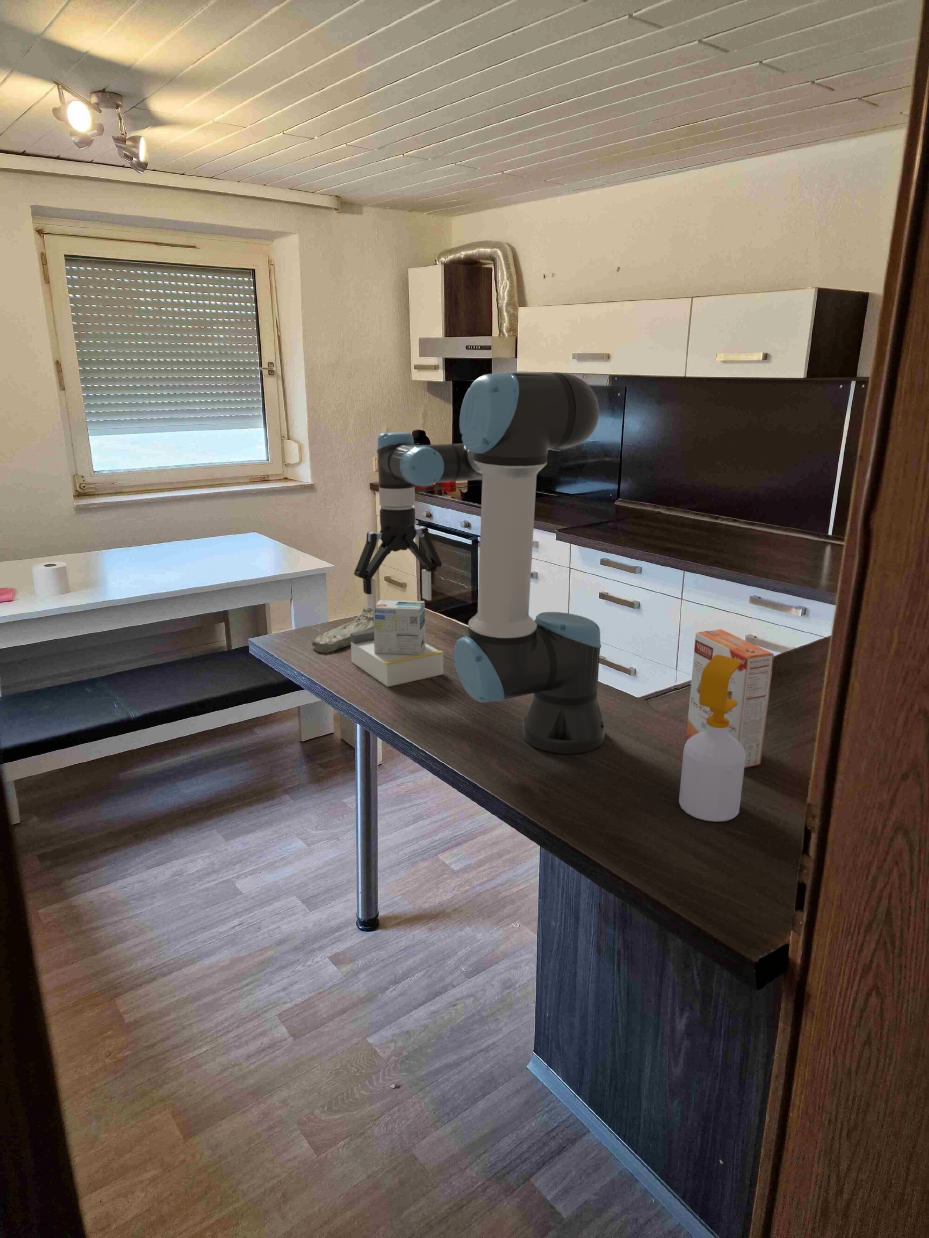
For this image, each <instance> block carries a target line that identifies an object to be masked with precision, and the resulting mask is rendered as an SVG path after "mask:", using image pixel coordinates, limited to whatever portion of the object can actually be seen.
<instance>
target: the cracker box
mask: <svg viewBox="0 0 929 1238" xmlns="http://www.w3.org/2000/svg"><path fill="white" fill-rule="evenodd" d="M693 649H694V650H693V661H692V671H691V682H690V693H689V705H688V714H687V727H686V738H688V739H689V738H691V737H692V736H694V735H696V734H697V733H700V732H704V731H705V729H706V720H707V718H708V717H710V716H713V712H711V711H710V707H706V706H703V705H700V704H699V695H700V685H701V676H702V672H703V669H704V668H705V666H706V665H707V664H708V663H709V662H710V660H711V659H712V658H713V657H714V656H716V655H722V656H726V657H730V658H734V659H738V660H740V663H741V664H740V666H739V667H738V668H737V669H736V671H735V672H734V673H733V674H732V676H731V677H730V680H729V684H728V693H727V698H728V699H731V700H735V701H737V706H735V707H734V708H733V709H731V710H730V711H729V712H728V713H726V714H724V718H726V719H728V720H729V730H728V734H729V735H730V736H732V737H733V738H735V739H736V740H737V741H738V742H739V743H741V745H742V746H743V748H744V750H745V753H746V757H745V766H744V769H748V768H752V767H756V766H757V767H758V766H760V765H761V762H762V755H763V749H764V748H763V746H764V739H765V731H766V723H767V714H768V705H769V701H770V689H771V681H772V674H773V665H774V656H775V654H774V653H773V652H771V651H769V650H766V649H764V648H762V647H760V646H758V645H755V644H753V643H751V642H749V641H748V640H745V639H742V638H741V637H739V636H736V635H734V634H733V633H731V632H728V631H726V630H723V629H721V628H720V629H713V630H704V631H699V632H695V638H694V648H693Z"/></svg>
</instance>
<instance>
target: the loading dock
mask: <svg viewBox="0 0 929 1238" xmlns="http://www.w3.org/2000/svg"><path fill="white" fill-rule="evenodd" d="M350 650H351V651H350V653H351V663H353V665H355V666H357V667H358V668H360V669H361V670H362V671H364V672H365V673H366V674H369V675H370V676H371V677H372V678H374V679H376V681H379V682H380V683H381V684H383V685H385V686H386V687H387V688H388V687H389V688H390V687H392V686H393V687H394V686H397V685H402V684H407V683H410V682H414V681H420V680H423V679H427V678H428V679H429V678H433V677H437V676H441V675H442V676H443V675H444V651H442V650H438V648H437V649H436V648H435V647H433V646H431V645H430V644H428V643H427V642H425V647H424V649H423V651H422V653H421V654H420V655H409V654H385V653H375V652H374V629H372V630H366V631H361V632H355V633H351V645H350Z"/></svg>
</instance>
